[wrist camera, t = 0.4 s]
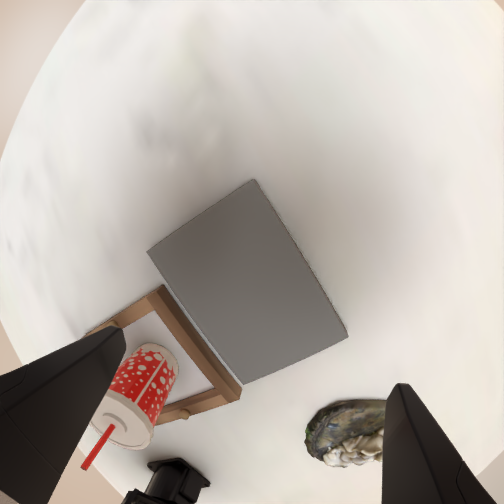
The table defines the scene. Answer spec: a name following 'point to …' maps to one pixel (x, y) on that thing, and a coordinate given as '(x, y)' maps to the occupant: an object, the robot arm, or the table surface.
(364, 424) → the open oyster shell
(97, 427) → the beverage cup
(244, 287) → the rubber mat
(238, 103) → the table surface
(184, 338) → the socket collar
